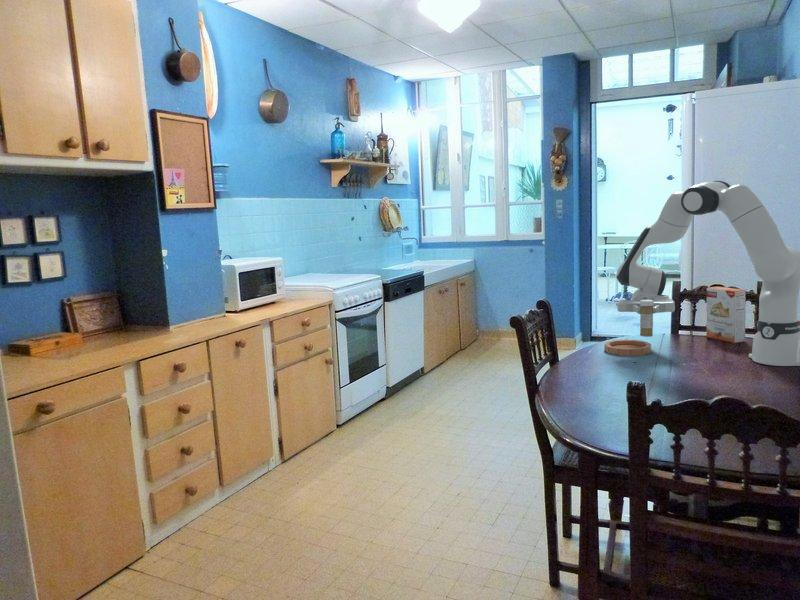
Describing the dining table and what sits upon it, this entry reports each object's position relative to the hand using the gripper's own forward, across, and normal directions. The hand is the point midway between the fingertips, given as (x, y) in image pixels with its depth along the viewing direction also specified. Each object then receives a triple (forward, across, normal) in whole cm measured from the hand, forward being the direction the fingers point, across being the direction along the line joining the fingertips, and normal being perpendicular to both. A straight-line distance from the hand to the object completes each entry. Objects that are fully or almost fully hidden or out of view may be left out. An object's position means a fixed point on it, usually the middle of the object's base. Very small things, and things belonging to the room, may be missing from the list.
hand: (646, 309), depth 221 cm
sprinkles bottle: (-1, 0, +10) cm, 10 cm away
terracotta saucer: (-8, -6, +18) cm, 20 cm away
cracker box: (-29, +31, +18) cm, 46 cm away
